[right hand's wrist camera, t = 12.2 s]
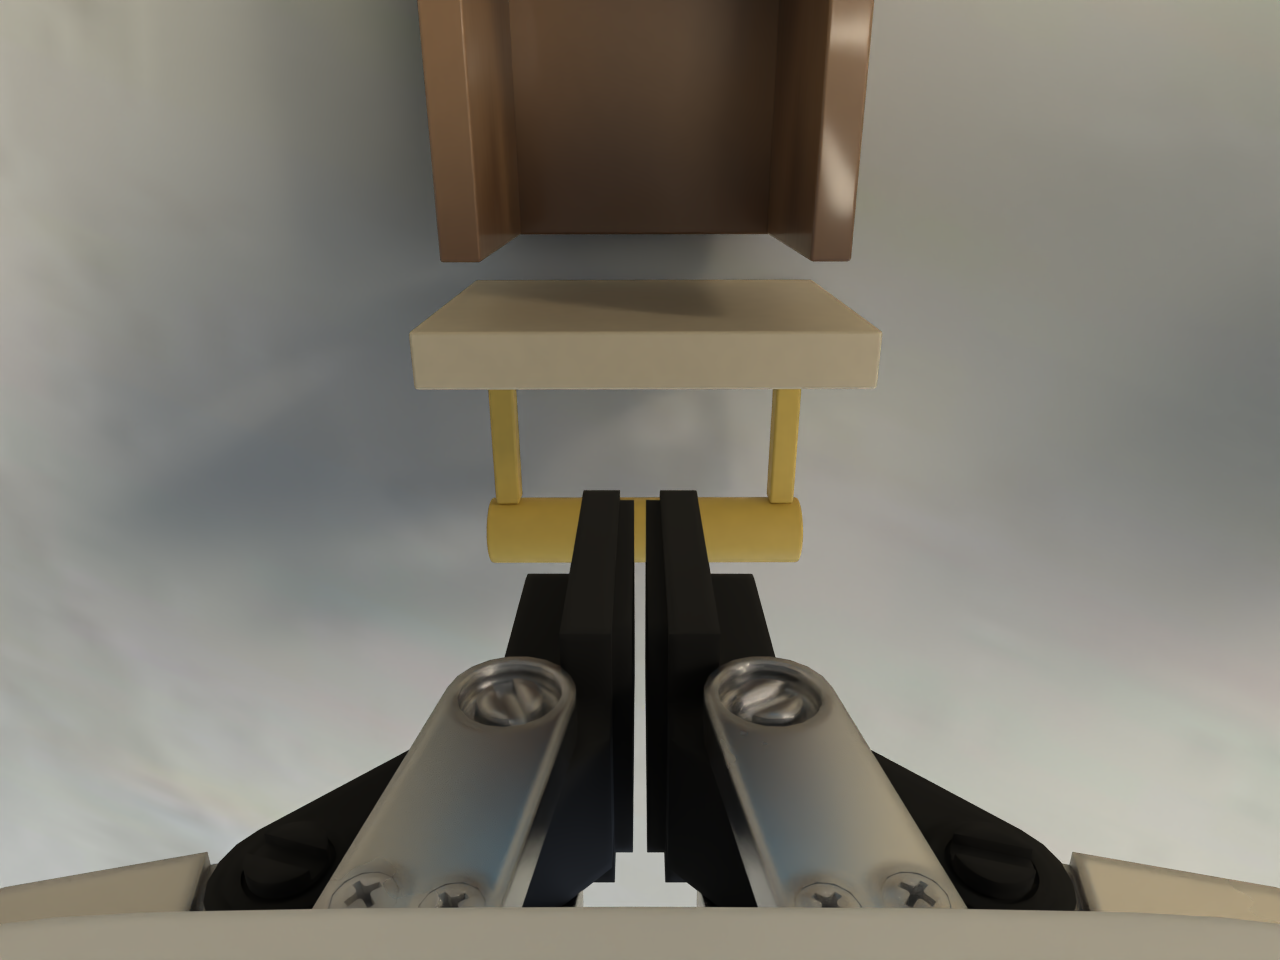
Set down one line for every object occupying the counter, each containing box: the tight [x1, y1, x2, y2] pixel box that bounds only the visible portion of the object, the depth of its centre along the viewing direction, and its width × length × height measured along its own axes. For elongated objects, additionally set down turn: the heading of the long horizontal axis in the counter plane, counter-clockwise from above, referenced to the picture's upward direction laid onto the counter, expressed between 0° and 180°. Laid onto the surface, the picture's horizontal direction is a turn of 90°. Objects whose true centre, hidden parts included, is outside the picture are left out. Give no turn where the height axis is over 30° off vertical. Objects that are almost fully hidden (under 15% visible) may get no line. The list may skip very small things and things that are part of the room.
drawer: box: [409, 0, 882, 563], centre depth 18 cm, size 23×9×7 cm, turn 0°
